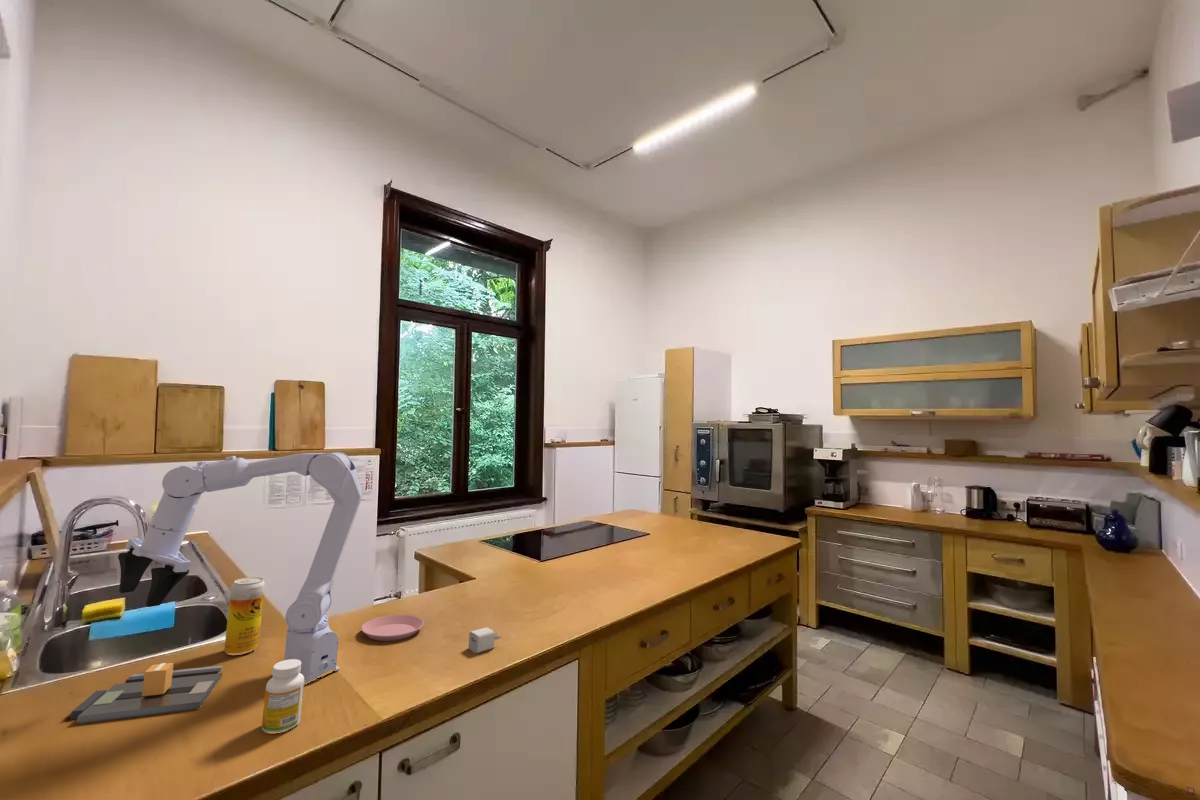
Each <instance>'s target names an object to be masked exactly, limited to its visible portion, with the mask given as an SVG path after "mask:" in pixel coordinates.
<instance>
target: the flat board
mask: <svg viewBox="0 0 1200 800" xmlns="http://www.w3.org/2000/svg"><path fill="white" fill-rule="evenodd" d="M223 667H224V665H216V666H215V665H213V666H204V667H195V668H184V669H183V668H182V669H175V670H174V669H173V674H172V678H180V677H190V676H200V675H209V674H218V673H219V672H220V670H221V669H222V668H223ZM222 670H223V669H222ZM144 674H145V672H144V673H133V674H132V675H131V676H129V677H128V678H126V679H125V683H132V682H142V681H144ZM107 691H108V689H100V690H96V691H94V692H93V693H92V694H90V695H89V696H88V697H87V698H86V699H84V701H83V702H80V704H79V705H78V706H76V707H75V708H74V709H73V710H71V713H70V720H76V719H77V718H78V716H79V715H80V714H81V713H82V712H83V711H85V710H86V709H87V708H88V707H89V706H90V705H92V704H93V703H94V702H95V701H96V700H97V699H98V698H100V697H101V696H102V695H103V694H104V693H105V692H107Z"/></svg>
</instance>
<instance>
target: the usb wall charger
mask: <svg viewBox="0 0 1200 800" xmlns="http://www.w3.org/2000/svg"><path fill="white" fill-rule="evenodd" d="M497 633H498V632H495V631H494V630H493V629H492V628H490V627H483V628H479V629H476V630H471V631H469V633H468V644H467V646H468V649H469V650H470V651H471V652H474V653H475V654H479V653H483V652H485V651H489V650H493V649H494V648H495V641H496V640H499V639H501V638H502V634H499V635H497ZM492 648H493V649H492Z"/></svg>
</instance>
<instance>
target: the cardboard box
mask: <svg viewBox="0 0 1200 800" xmlns="http://www.w3.org/2000/svg"><path fill="white" fill-rule="evenodd" d="M174 663H175V662H168V663H167V662H162V663H157V664H156V663H155V664H152V665H150V667H149V668H148V669H146V670H145V671H144V673H145V674H144V682H143V690H142V696H150V695H159V694H164V693H165V692H166V691H167V690H168V689H169V688H170V686H171V682H172V674H173V670H174V665H175V664H174Z"/></svg>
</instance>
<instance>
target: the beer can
mask: <svg viewBox="0 0 1200 800" xmlns="http://www.w3.org/2000/svg"><path fill="white" fill-rule="evenodd" d="M265 588H266V583H265V581H264V578H263V577H258V576H255V577H253V576H252V577H251V576H250V577H243V578H238V579H235V580H234V581H233V584H232V585H231V586H230V595H229V605H228V612H227V623H226V630H225V631H226V632H225V639H224V650H223V651H224V652H225V653H226V652H227V653H241V652H244V651H249V650H251V649H254V648H256V647H257V646H258V647H259V643H260V635H261V626H262V625H261V624H262V616H263V606H264V596H265ZM256 649H257V648H256ZM227 653H226V654H227Z"/></svg>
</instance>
